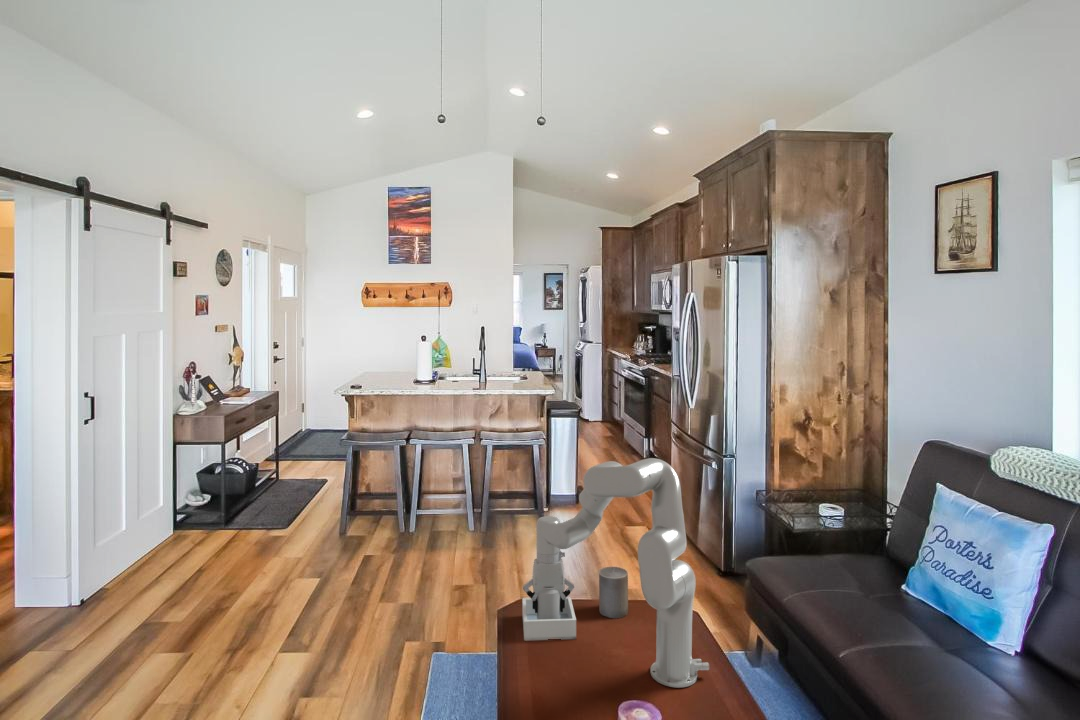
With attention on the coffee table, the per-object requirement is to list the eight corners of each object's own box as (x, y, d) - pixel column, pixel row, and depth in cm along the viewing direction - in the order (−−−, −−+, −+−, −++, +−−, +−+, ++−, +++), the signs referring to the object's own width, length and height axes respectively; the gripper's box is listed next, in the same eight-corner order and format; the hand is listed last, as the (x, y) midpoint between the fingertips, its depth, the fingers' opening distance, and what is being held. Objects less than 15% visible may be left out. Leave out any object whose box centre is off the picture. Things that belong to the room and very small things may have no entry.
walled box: (570, 614, 205) (570, 596, 205) (576, 639, 190) (576, 620, 189) (522, 615, 205) (522, 598, 204) (524, 640, 189) (524, 621, 188)
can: (534, 617, 199) (533, 580, 199) (555, 613, 201) (555, 577, 201) (541, 627, 192) (540, 590, 191) (563, 624, 194) (563, 586, 194)
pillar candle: (625, 604, 212) (624, 562, 212) (630, 618, 203) (630, 573, 202) (596, 606, 212) (596, 563, 211) (601, 619, 202) (601, 574, 201)
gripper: (574, 551, 200) (574, 604, 201) (520, 552, 199) (520, 606, 200) (577, 560, 192) (577, 615, 193) (521, 561, 191) (521, 617, 192)
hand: (548, 610), depth 197 cm, fingers closed on can, 7 cm apart
